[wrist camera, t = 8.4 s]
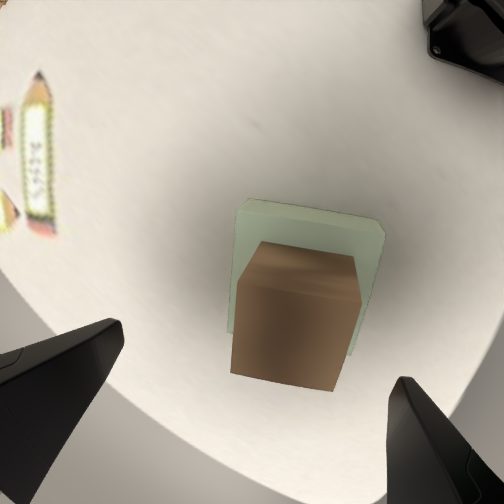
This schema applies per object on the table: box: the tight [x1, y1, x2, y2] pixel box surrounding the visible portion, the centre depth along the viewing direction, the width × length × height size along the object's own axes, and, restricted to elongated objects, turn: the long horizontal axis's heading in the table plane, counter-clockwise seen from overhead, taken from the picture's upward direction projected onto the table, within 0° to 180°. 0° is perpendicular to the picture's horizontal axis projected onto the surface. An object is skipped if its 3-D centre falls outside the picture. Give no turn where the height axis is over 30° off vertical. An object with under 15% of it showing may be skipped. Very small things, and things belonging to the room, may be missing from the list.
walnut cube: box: [230, 241, 362, 392], centre depth 15 cm, size 5×5×5 cm
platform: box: [227, 199, 386, 355], centre depth 19 cm, size 8×8×3 cm
